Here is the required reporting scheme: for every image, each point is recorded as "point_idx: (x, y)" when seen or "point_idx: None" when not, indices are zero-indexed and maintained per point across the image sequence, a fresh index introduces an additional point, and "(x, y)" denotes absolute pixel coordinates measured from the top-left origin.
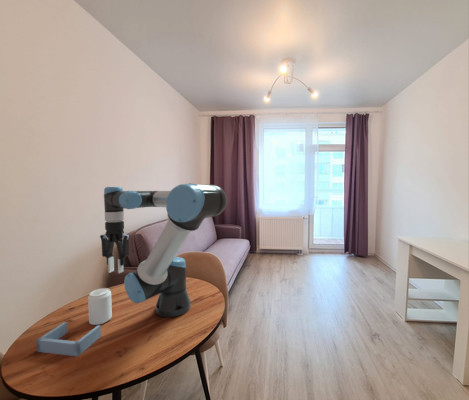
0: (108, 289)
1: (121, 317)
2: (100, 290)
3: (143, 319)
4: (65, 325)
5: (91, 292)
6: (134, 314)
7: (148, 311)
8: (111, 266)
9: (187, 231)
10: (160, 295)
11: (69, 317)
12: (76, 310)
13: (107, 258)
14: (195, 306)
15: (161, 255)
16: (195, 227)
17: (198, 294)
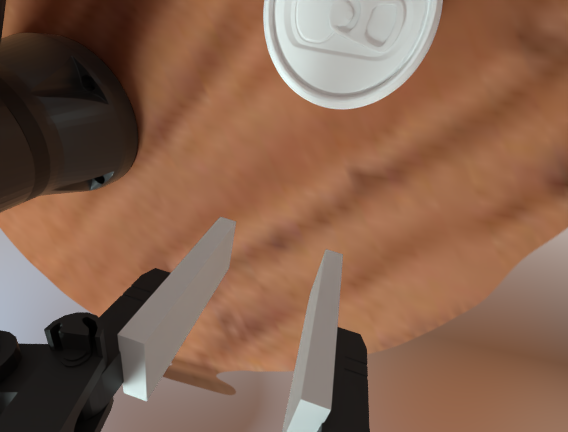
0: (295, 79)
1: (256, 55)
2: (359, 64)
3: (147, 27)
4: None
5: (429, 14)
6: (208, 79)
7: (159, 101)
8: (311, 308)
9: None
10: (27, 88)
11: (549, 82)
12: (530, 156)
13: (355, 425)
14: None
15: None
16: None
17: (41, 212)
